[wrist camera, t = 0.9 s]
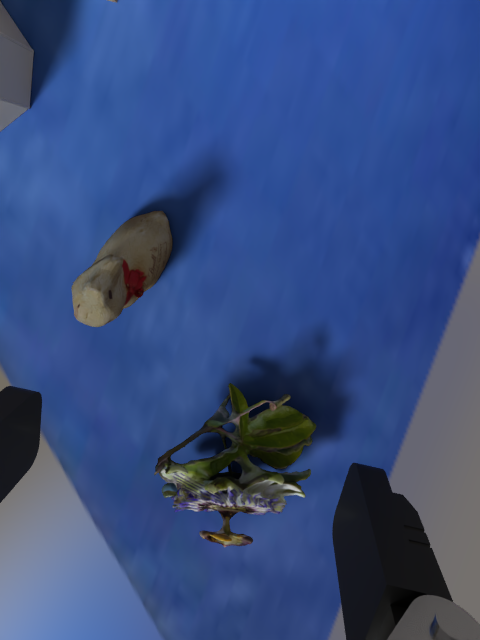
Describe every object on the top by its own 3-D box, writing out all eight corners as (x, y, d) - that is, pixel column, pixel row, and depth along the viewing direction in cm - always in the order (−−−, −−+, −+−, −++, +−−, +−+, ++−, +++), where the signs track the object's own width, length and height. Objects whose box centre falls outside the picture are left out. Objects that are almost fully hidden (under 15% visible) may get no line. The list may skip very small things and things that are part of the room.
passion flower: (240, 439, 46) (155, 532, 38) (214, 347, 41) (111, 433, 33) (343, 476, 39) (265, 599, 31) (326, 371, 34) (229, 485, 26)
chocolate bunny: (78, 254, 36) (5, 279, 26) (159, 201, 34) (112, 208, 25) (117, 312, 37) (62, 356, 28) (197, 264, 35) (168, 293, 26)
